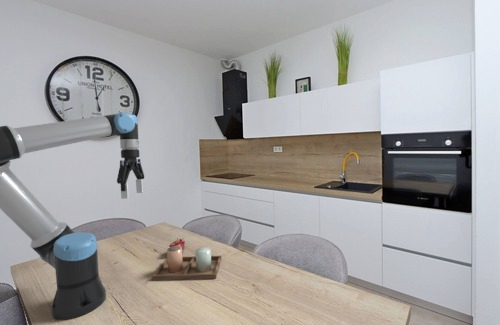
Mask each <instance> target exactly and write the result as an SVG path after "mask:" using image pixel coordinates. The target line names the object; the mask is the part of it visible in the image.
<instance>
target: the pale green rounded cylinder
mask: <svg viewBox="0 0 500 325" xmlns="http://www.w3.org/2000/svg"><path fill="white" fill-rule="evenodd" d="M195 256H196V270H197V271H198V272H208V271H210V270H211V268H212V266H211V256H212V249H211V248H210V247H208V246H205V247H204V246H202V247H199V248H197V249H195Z"/></svg>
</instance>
